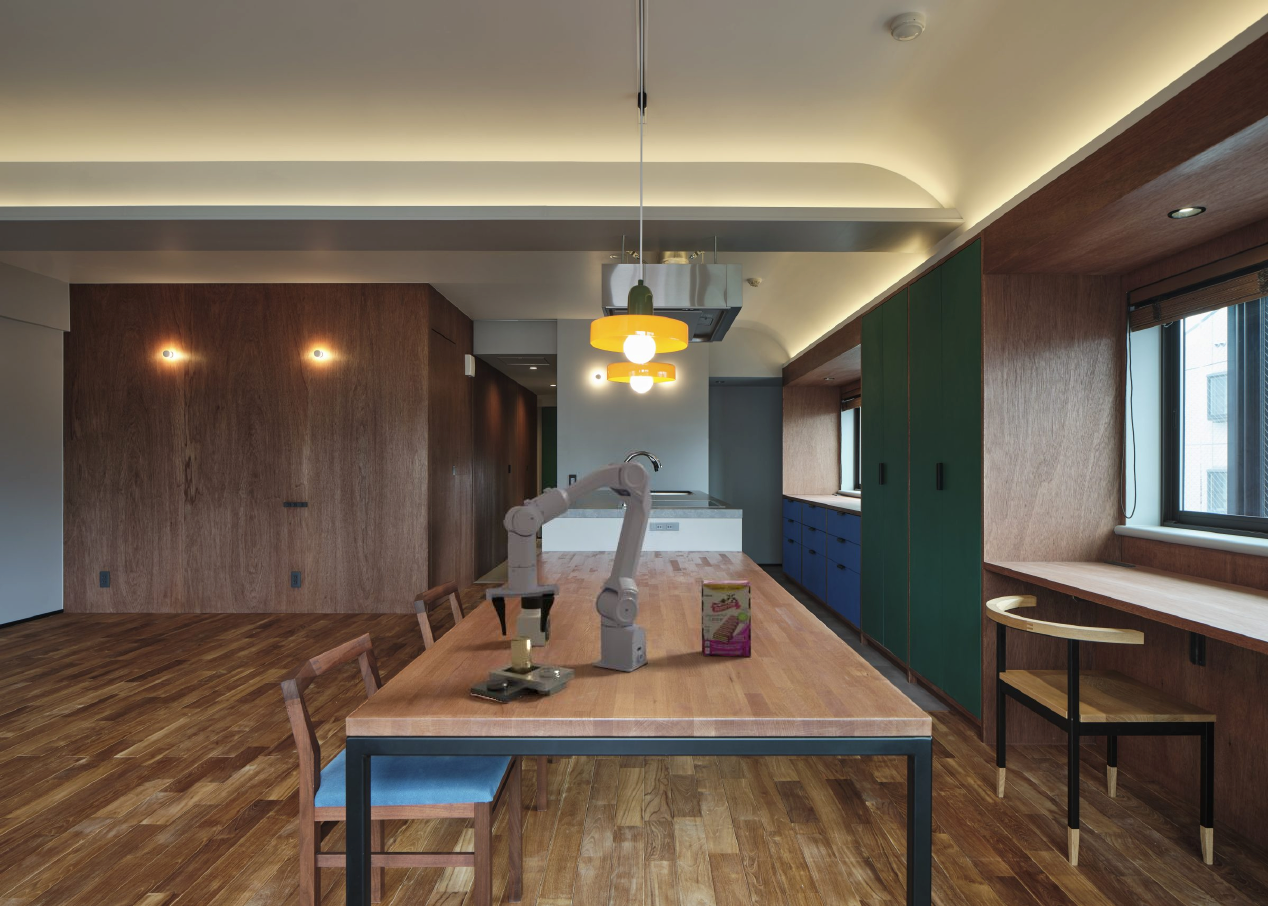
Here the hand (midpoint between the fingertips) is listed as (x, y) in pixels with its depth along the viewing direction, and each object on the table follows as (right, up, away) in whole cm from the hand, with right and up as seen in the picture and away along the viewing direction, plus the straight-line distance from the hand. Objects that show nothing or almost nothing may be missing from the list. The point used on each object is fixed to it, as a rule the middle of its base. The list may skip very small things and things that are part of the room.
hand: (523, 632), depth 130 cm
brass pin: (0, -10, -3) cm, 10 cm away
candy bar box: (+43, -10, +16) cm, 47 cm away
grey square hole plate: (+2, -9, -4) cm, 10 cm away
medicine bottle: (-2, -11, +29) cm, 31 cm away
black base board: (-1, -9, -5) cm, 11 cm away
